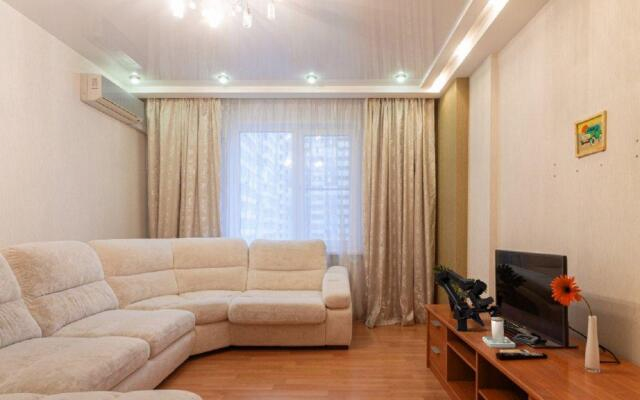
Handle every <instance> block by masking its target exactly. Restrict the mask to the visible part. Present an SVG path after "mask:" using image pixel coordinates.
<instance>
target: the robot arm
mask: <svg viewBox="0 0 640 400" xmlns="http://www.w3.org/2000/svg"><path fill="white" fill-rule="evenodd" d="M434 280H435V282H436V283H437V285H438V286H439V287H441V288H443V289H444V291H445V293H446V295H447V296H448V297H449V299H450V300H451V302H452V304H453V305H454V313H453V314H452V318H453V319H454V320H456V325H457V326H456V327H455V329H456V331H458V332H470V331H471V330H470V329H469V328H468V326H469V325H468V320H473V321H474V322H475V323H477V324H479V326H481V327H483V328H484V327H485V323H484V322H483V319H482V318H481V316H480V314H484V313H485V314H486V313H488V315H490V316H489V317H490V318H491V317H499V316H498V315H499V312H500V311H501V307H500V305H498V304H495V305H493V303H494V302H495V299H494V298H493V296H488V297H485V298H482V297H481V296H482V295H483V294H484V292H485V291H486V290H487V288H488V284H487V283H486V282H484V281H482V280H481V279H475V281H474V280H473V279H470V278H465V277H463V276H462V275H460V274H458V273H457V272H455V271H454V270H453V269H444V270H443V271H442V272H439V273H437V274H435V276H434ZM451 281H453V282H455V283H456V284H457V285H458V288H459V289H460V290H461V291H463V292H466V295H465V298H466V299H469V301H470V302H471V306H470V305H469V303H468V302H467V301H462V299H461V298H460V297H459V295H458V293H457V292H456V290H455V288H454V287H453V285H452V284H451ZM490 305H491V306H490Z"/></svg>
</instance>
